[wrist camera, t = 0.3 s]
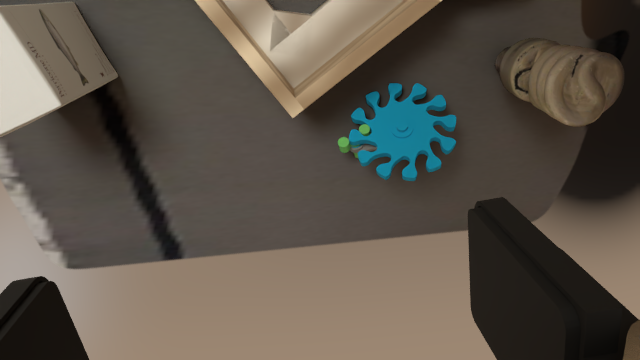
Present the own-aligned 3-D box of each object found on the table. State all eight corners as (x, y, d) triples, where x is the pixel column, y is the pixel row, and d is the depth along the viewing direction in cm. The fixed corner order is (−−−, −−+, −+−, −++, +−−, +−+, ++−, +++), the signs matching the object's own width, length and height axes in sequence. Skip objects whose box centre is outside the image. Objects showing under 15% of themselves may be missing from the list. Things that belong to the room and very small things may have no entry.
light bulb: (493, 100, 47) (582, 147, 34) (463, 59, 46) (543, 91, 32) (540, 62, 46) (652, 94, 32) (511, 18, 44) (616, 33, 31)
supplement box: (122, 76, 44) (65, 109, 32) (52, 108, 44) (-29, 152, 33) (75, -2, 41) (-6, 3, 29) (2, 33, 41) (-106, 51, 30)
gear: (447, 70, 44) (468, 167, 41) (442, 102, 50) (460, 190, 46) (331, 89, 46) (341, 184, 42) (339, 118, 51) (348, 205, 47)
